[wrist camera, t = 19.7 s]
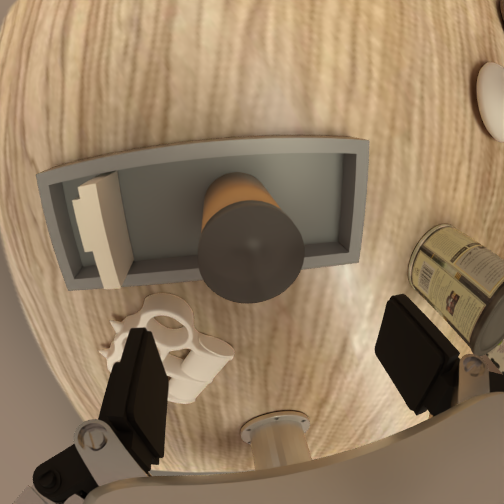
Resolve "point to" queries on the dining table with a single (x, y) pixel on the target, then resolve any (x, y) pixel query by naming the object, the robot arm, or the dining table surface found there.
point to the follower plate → (104, 227)
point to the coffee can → (461, 285)
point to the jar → (247, 241)
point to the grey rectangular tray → (193, 193)
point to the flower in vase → (492, 99)
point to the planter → (502, 8)
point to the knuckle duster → (174, 346)
